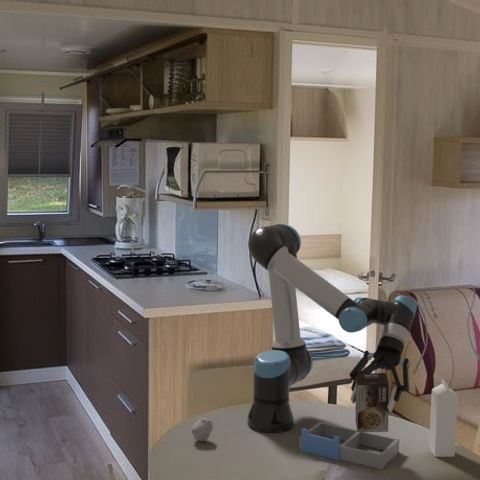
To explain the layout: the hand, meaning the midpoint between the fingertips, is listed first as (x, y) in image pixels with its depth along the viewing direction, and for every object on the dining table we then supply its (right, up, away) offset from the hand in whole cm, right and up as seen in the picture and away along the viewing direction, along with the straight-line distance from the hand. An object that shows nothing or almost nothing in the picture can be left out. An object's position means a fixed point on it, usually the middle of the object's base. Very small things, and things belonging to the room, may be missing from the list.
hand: (370, 405), depth 216 cm
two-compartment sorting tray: (-5, -15, +8) cm, 18 cm away
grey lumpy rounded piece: (-50, -14, +13) cm, 53 cm away
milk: (+23, -16, +8) cm, 29 cm away
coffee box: (+1, -7, +3) cm, 8 cm away
